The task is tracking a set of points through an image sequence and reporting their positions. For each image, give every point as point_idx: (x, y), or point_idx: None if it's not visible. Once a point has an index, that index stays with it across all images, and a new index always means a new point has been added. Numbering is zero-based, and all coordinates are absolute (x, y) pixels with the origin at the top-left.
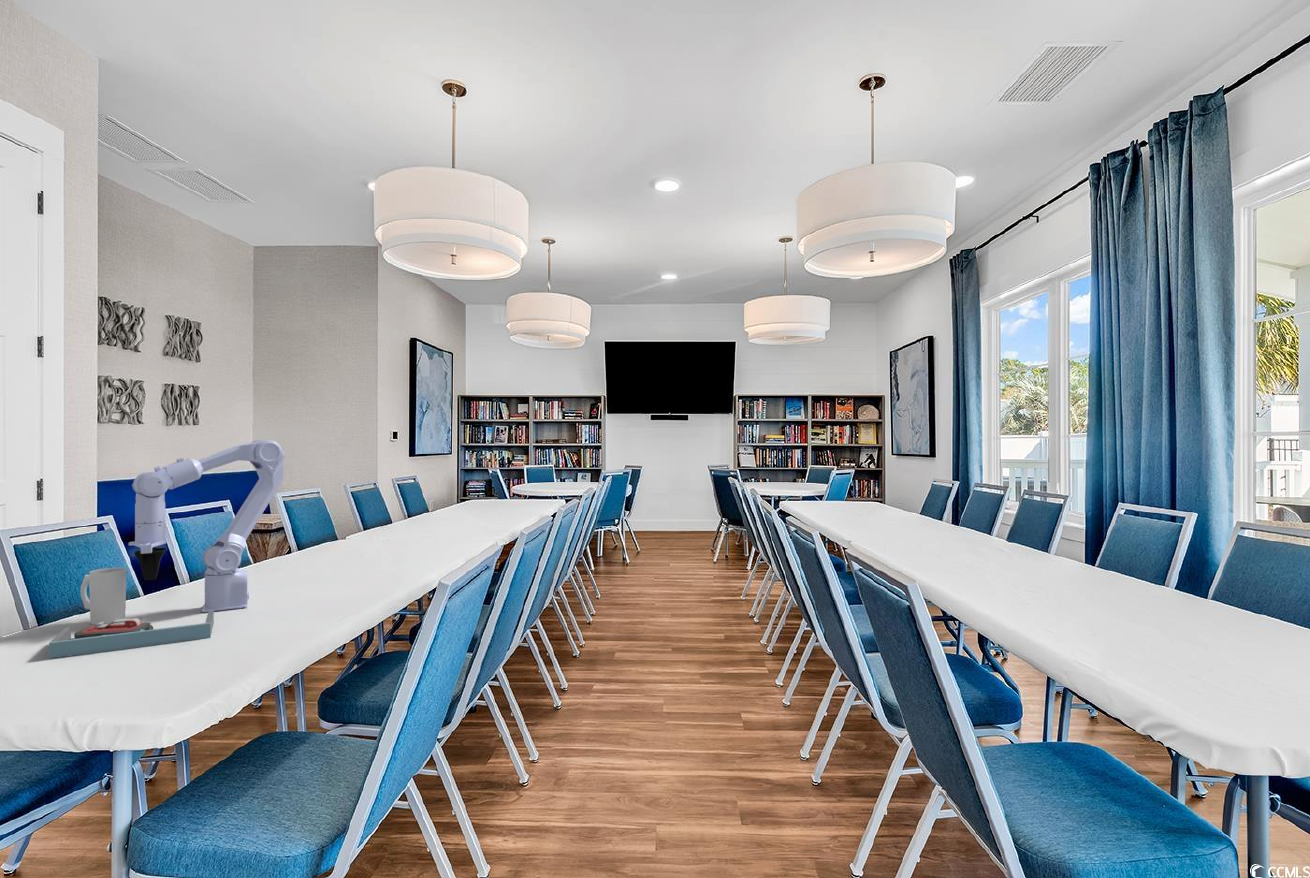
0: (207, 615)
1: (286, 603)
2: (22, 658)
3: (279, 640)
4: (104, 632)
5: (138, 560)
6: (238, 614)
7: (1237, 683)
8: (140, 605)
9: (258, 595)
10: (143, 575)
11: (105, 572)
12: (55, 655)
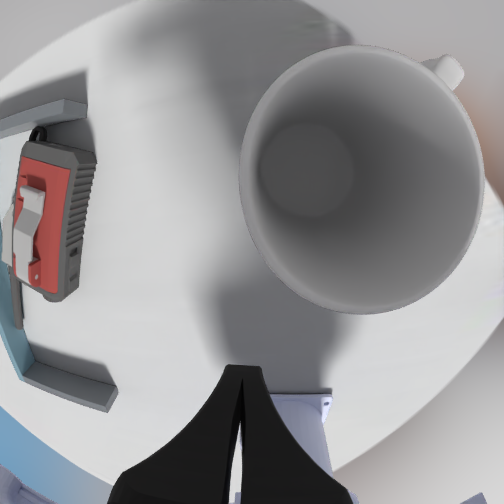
0: (69, 395)
1: (240, 477)
2: (18, 78)
3: (20, 408)
4: (13, 209)
5: (160, 450)
6: None
7: None
8: (469, 249)
9: (359, 452)
10: (219, 381)
11: (459, 165)
12: None
